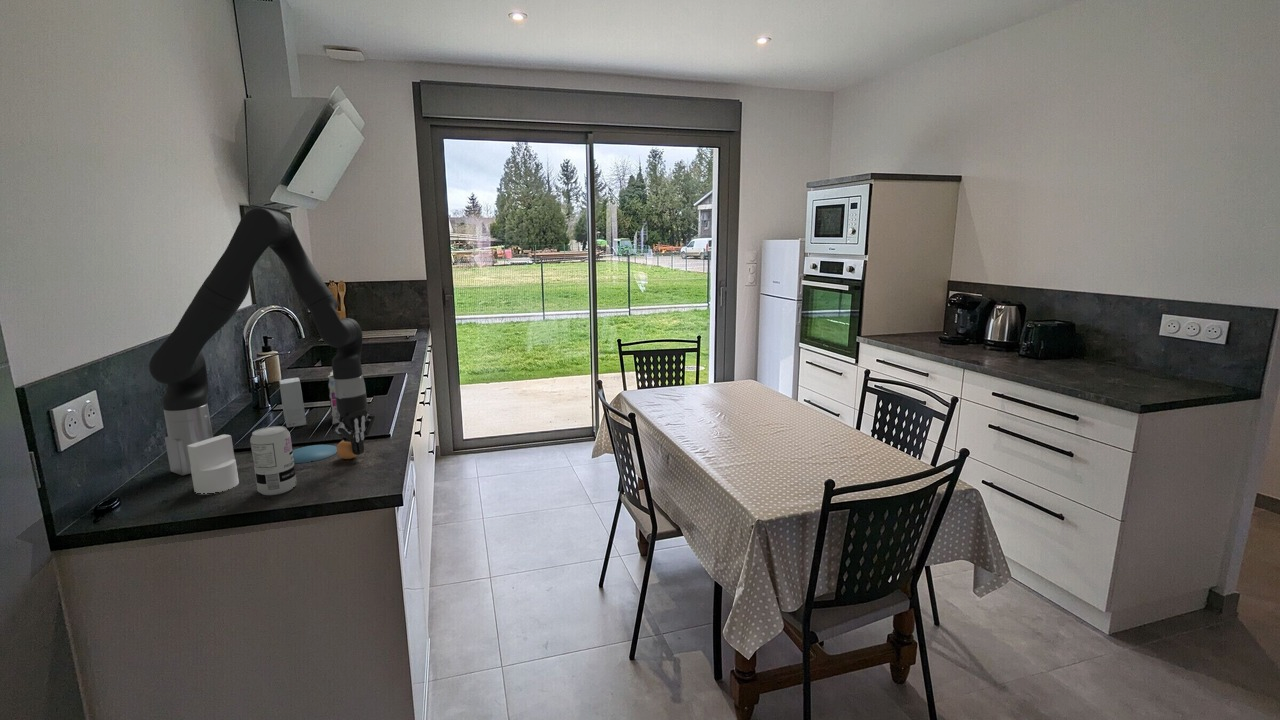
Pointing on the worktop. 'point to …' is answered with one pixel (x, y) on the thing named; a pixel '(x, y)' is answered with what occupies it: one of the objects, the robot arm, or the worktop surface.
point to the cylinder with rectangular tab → (213, 465)
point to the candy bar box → (333, 400)
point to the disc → (313, 453)
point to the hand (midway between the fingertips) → (358, 453)
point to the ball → (345, 450)
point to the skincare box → (292, 402)
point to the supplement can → (273, 460)
